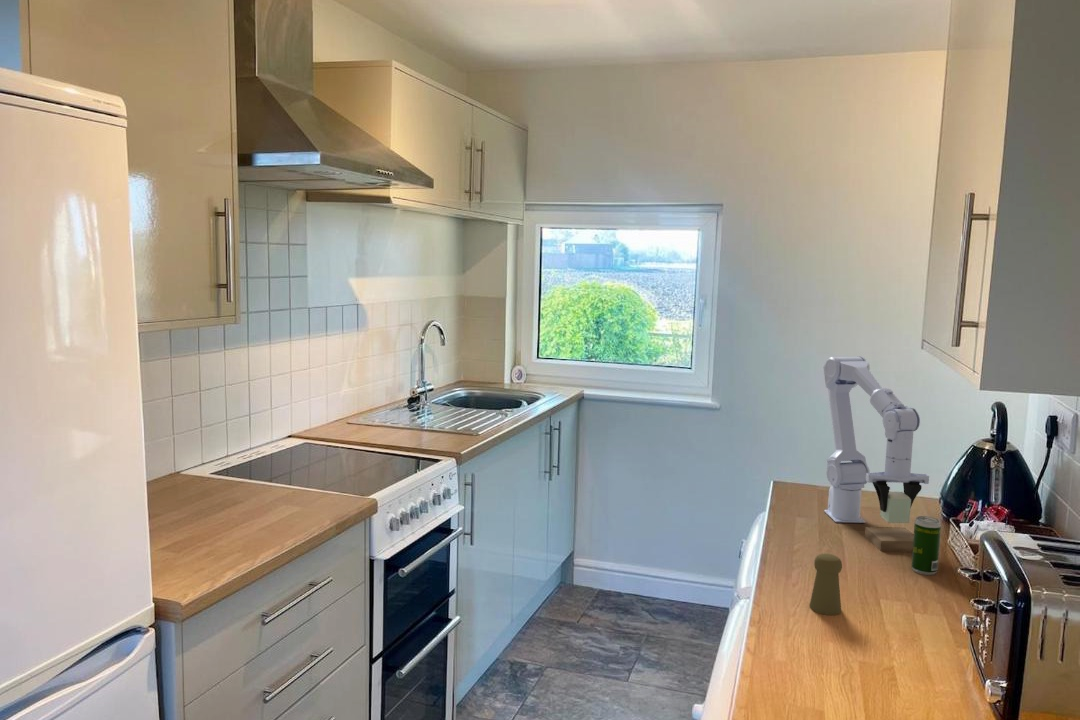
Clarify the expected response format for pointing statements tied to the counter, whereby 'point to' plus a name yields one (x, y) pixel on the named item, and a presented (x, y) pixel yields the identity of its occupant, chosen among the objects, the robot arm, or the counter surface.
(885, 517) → the tea tin
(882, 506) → the robot arm
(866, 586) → the counter surface
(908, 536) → the walnut block
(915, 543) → the beer can
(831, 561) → the olive pepper mill
